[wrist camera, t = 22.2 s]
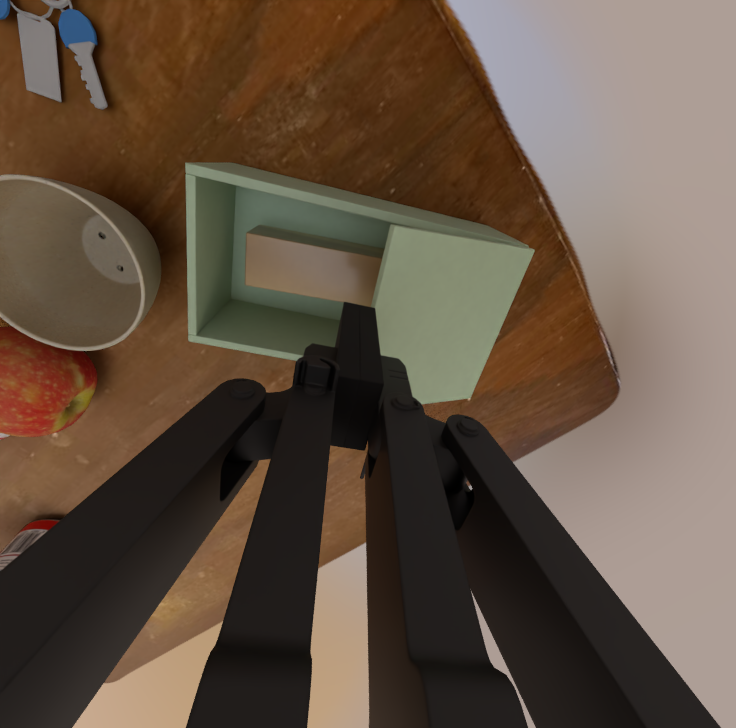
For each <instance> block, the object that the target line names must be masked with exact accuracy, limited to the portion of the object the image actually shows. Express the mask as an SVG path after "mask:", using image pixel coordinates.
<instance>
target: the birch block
mask: <svg viewBox="0 0 736 728" xmlns="http://www.w3.org/2000/svg"><path fill="white" fill-rule="evenodd" d="M384 250H385V249H384V248H379V247H374V246H368V245H363V244H358V243H353V242H348V241H343V240H338V239H332V238H327V237H322V236H317V235H312V234H307V233H302V232H297V231H291V230H286V229H281V228H276V227H271V226H266V225H261V224H260V225H258V226H256V227H254V228H253V229H251V230H250V231H248V232H246V252H245V285H247V286H252V287H258V288H264V289H269V290H275V291H281V292H287V293H292V294H298V295H304V296H309V297H315V298H321V299H326V300H332V301H338V302H349V303H354V304H358V305H363V306H368V307H371V304H372V299H373V295H374V291H375V287H376V283H377V279H378V274H379V270H380V266H381V262H382V258H383V254H384Z"/></svg>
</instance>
